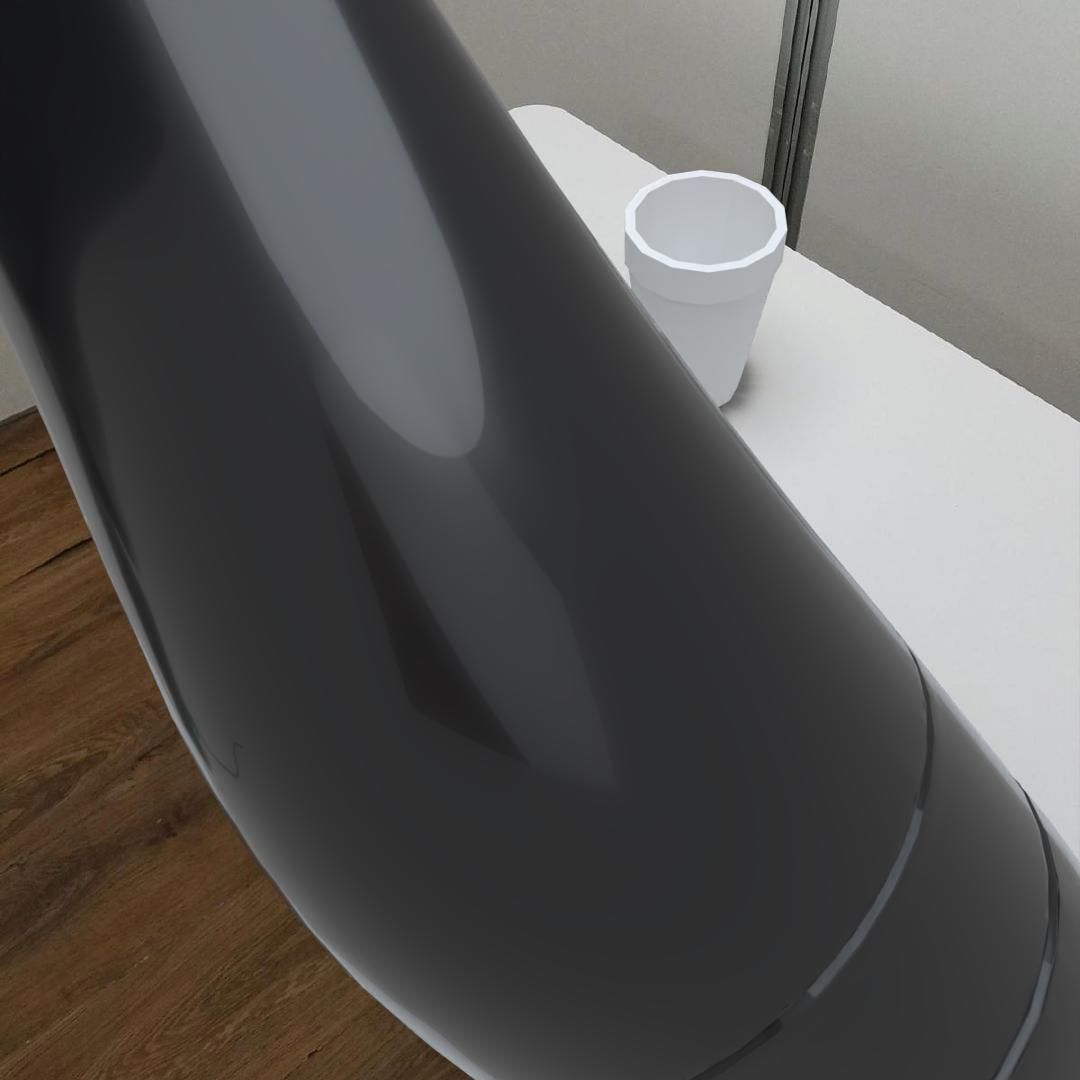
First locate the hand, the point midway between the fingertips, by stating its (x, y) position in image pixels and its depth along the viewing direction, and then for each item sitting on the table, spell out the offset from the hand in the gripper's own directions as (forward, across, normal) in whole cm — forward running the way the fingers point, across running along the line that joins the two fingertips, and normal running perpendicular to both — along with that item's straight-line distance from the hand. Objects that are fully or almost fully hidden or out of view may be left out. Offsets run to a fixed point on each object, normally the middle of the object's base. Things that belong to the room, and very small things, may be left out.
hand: (586, 713), depth 50 cm
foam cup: (+24, -17, -12) cm, 32 cm away
